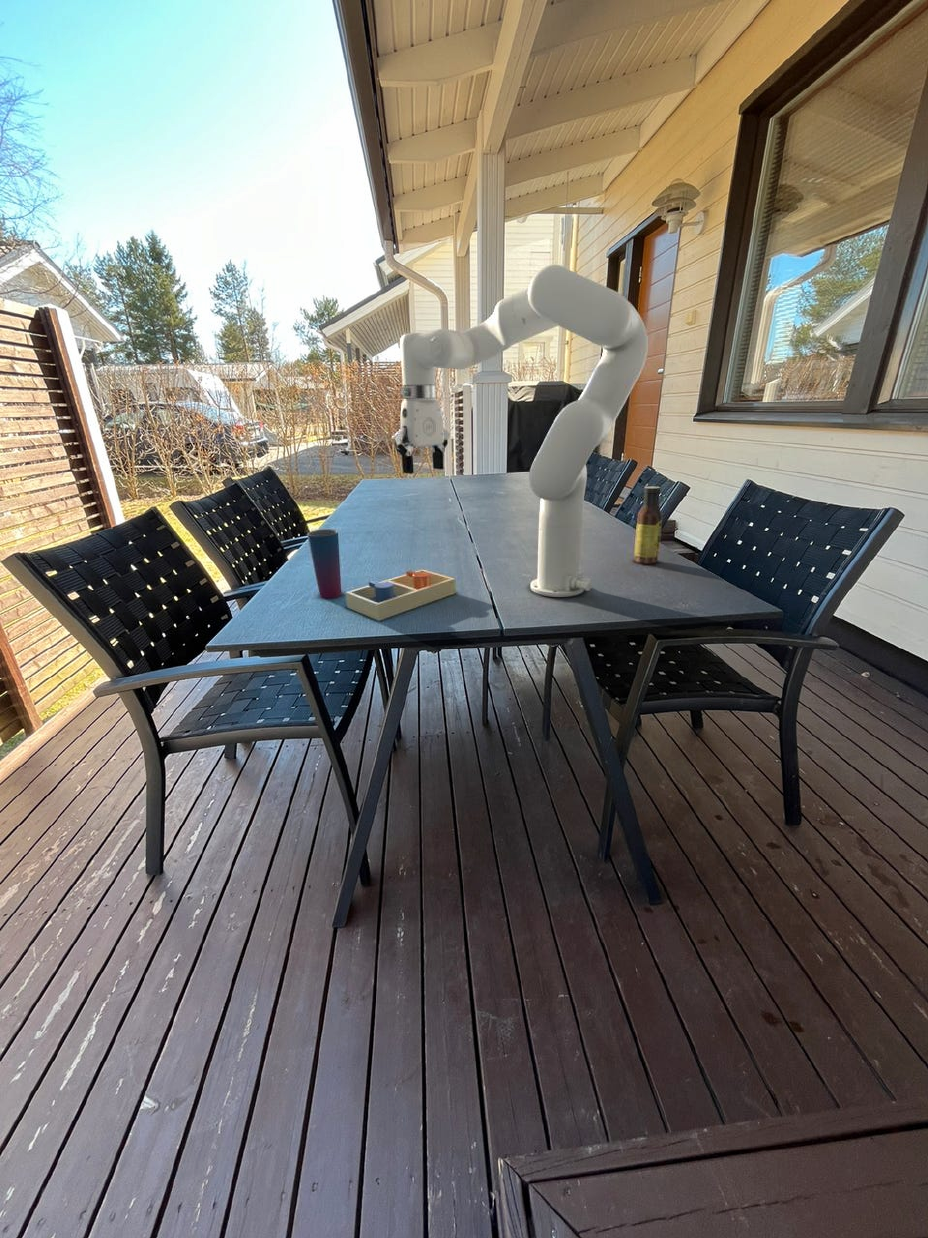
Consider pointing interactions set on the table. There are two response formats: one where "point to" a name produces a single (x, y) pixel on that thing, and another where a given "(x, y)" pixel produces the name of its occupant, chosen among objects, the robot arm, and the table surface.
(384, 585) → the blue scoop
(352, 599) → the sorter
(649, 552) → the sauce bottle
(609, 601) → the table surface
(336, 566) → the cup
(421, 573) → the orange scoop
